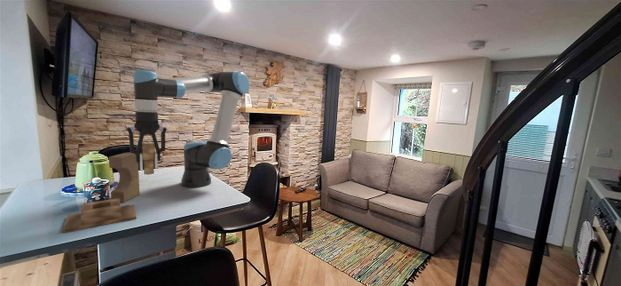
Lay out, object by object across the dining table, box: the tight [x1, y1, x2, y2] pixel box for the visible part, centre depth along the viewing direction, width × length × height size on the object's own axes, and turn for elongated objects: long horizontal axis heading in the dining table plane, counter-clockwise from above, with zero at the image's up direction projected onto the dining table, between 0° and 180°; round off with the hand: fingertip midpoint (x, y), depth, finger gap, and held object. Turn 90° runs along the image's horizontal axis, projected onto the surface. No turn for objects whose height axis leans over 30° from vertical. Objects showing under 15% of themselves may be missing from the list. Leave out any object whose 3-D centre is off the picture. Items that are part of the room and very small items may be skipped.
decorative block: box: [108, 152, 140, 204], centre depth 115 cm, size 11×6×20 cm, turn 179°
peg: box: [141, 142, 156, 176], centre depth 103 cm, size 4×4×12 cm
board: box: [62, 198, 137, 234], centre depth 95 cm, size 20×14×5 cm
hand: (148, 169), depth 103 cm, fingers closed on peg, 4 cm apart
